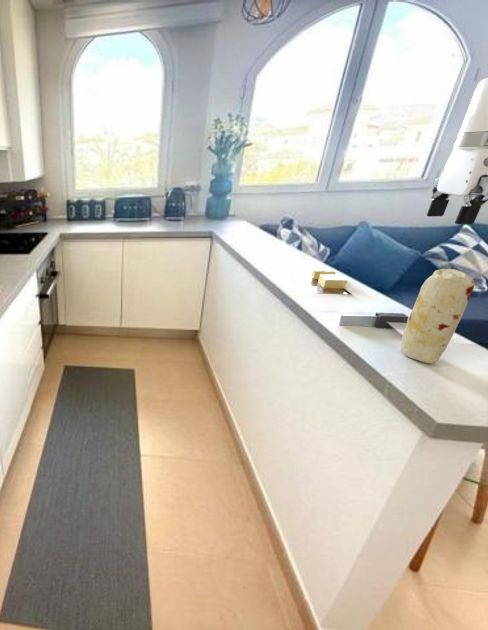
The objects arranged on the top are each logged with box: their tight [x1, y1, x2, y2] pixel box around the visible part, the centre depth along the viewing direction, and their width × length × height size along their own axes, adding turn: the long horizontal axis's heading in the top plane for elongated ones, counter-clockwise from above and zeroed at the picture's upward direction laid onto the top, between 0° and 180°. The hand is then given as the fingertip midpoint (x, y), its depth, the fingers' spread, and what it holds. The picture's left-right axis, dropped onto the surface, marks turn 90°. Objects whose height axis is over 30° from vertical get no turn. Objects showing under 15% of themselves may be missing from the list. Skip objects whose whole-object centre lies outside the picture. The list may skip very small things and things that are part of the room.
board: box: [291, 275, 352, 295], centre depth 115 cm, size 14×16×2 cm
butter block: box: [318, 274, 348, 289], centre depth 112 cm, size 6×5×3 cm
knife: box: [338, 312, 409, 330], centre depth 91 cm, size 14×2×4 cm, turn 76°
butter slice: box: [311, 268, 336, 279], centre depth 119 cm, size 6×2×3 cm, turn 76°
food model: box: [399, 268, 476, 364], centre depth 74 cm, size 10×7×20 cm
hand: (448, 219), depth 83 cm, fingers open, 9 cm apart
